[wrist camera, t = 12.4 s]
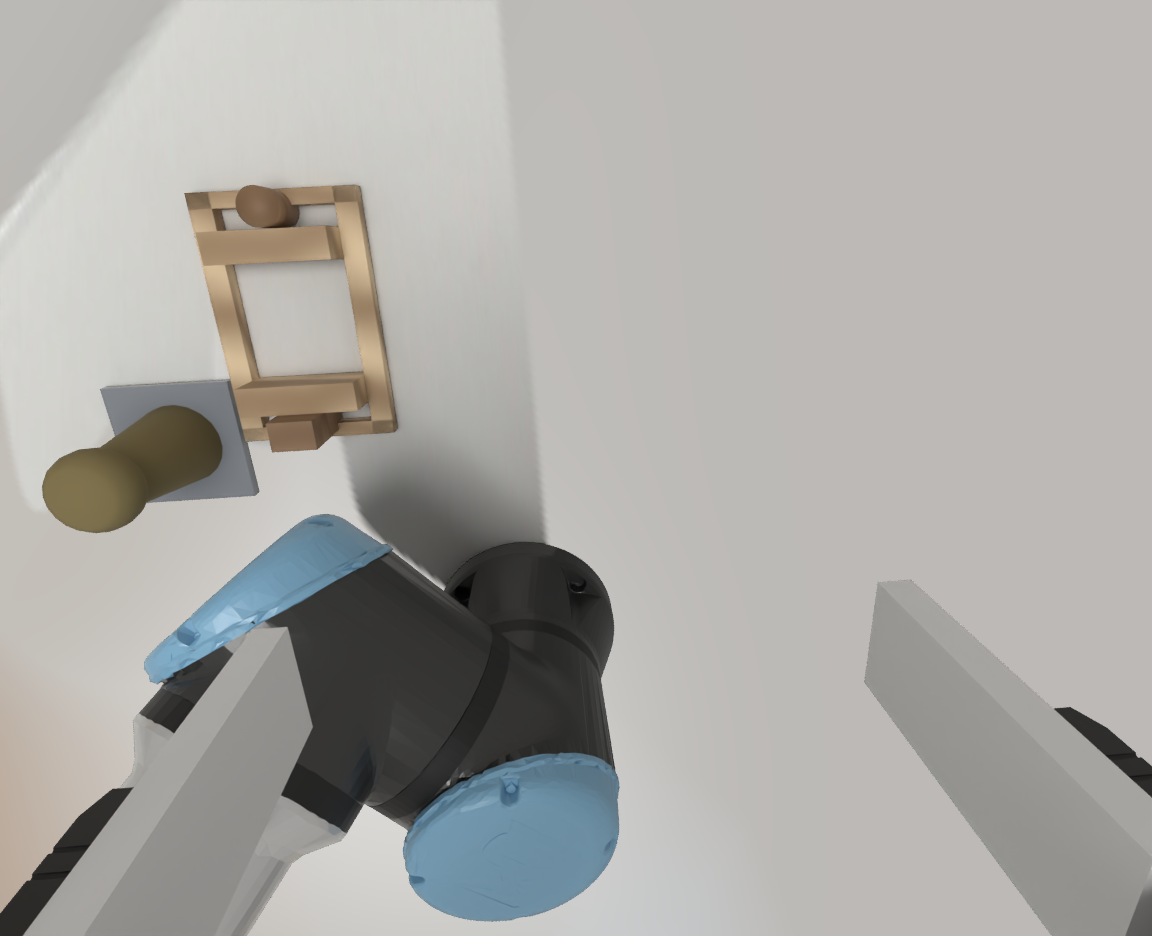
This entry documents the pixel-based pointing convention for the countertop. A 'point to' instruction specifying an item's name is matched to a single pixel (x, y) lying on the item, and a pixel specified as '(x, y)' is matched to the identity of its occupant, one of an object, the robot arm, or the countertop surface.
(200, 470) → the cork
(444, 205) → the countertop surface
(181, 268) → the countertop surface
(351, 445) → the countertop surface
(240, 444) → the slate coaster
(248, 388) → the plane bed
